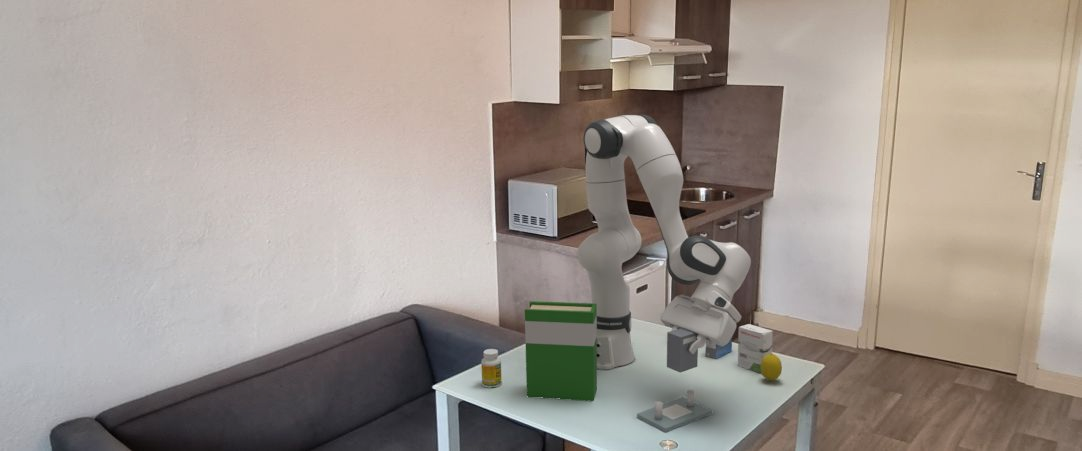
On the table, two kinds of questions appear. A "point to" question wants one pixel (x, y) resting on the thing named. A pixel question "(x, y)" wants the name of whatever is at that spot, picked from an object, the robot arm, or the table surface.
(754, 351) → the ink box
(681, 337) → the block
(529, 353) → the hardback book
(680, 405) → the tray
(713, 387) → the table surface
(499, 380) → the supplement bottle
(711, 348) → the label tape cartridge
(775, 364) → the lemon
